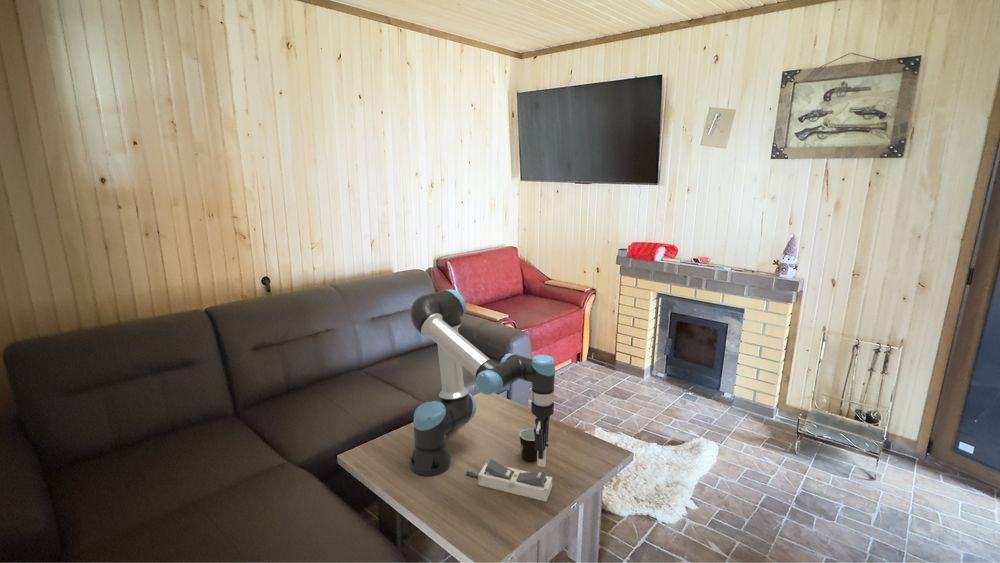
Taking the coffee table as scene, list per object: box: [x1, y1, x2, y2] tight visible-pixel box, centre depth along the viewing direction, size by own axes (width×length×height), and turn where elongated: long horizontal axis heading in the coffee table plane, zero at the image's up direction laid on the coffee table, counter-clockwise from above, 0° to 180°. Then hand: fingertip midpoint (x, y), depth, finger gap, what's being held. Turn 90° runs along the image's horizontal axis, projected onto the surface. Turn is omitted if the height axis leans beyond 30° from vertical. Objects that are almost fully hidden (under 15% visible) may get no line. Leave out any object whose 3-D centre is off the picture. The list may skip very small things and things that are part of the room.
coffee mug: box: [519, 428, 537, 463], centre depth 184 cm, size 12×9×10 cm
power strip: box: [465, 461, 553, 503], centre depth 167 cm, size 31×8×5 cm, turn 70°
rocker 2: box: [517, 470, 547, 485], centre depth 164 cm, size 9×5×2 cm, turn 70°
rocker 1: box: [485, 459, 513, 480], centre depth 168 cm, size 9×5×2 cm, turn 70°
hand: (541, 464), depth 161 cm, fingers closed
